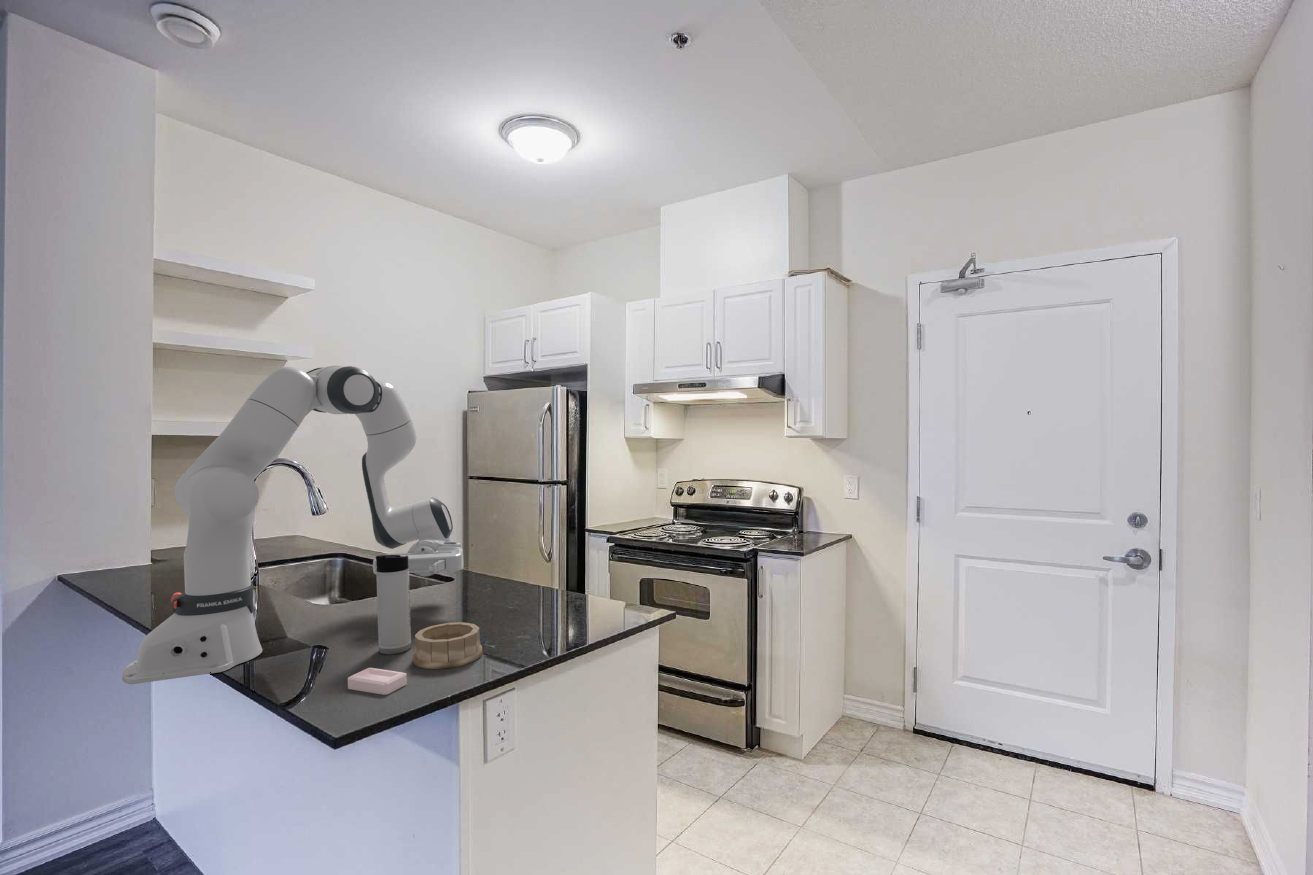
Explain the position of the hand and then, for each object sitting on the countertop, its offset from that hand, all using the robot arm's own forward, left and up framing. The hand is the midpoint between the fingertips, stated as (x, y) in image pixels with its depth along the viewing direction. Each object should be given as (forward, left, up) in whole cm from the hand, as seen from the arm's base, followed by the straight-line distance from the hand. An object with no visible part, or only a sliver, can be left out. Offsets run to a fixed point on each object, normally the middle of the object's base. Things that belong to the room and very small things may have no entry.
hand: (410, 570), depth 146 cm
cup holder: (+2, -22, -14) cm, 26 cm away
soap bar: (-12, -29, -14) cm, 35 cm away
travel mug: (-6, -11, -14) cm, 19 cm away
